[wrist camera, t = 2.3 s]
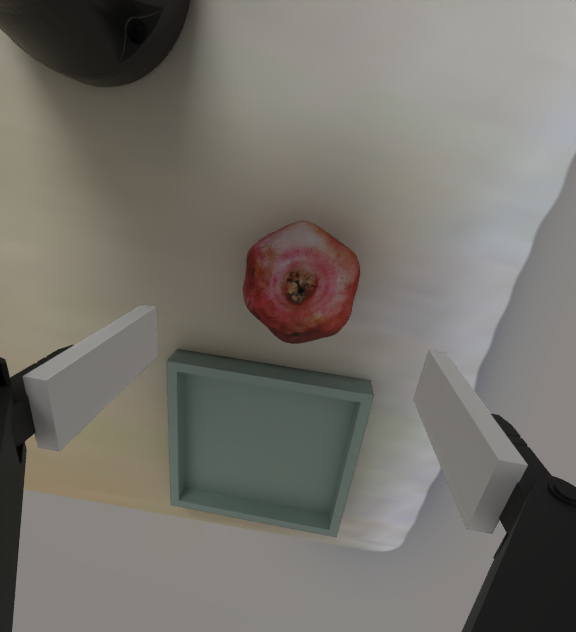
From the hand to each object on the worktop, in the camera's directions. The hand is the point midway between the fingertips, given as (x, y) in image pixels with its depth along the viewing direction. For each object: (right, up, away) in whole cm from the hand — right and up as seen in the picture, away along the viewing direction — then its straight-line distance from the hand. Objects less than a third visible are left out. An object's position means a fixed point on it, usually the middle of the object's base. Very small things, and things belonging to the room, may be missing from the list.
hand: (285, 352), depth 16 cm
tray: (-3, -12, +21) cm, 25 cm away
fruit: (+2, +6, +14) cm, 15 cm away
